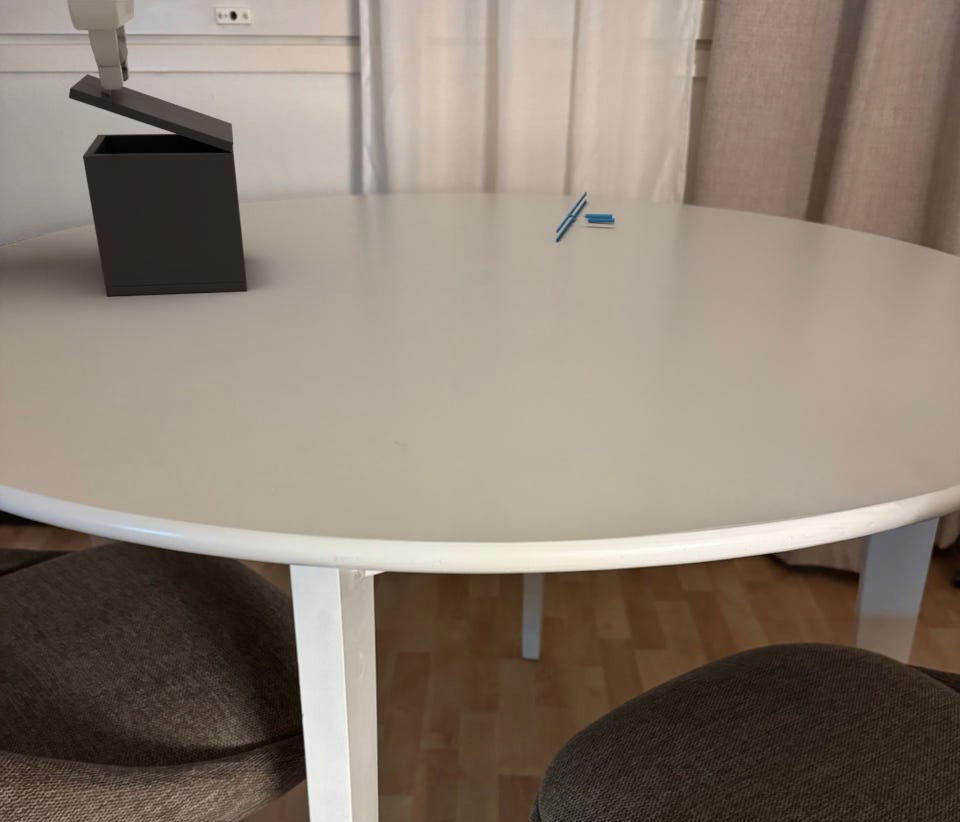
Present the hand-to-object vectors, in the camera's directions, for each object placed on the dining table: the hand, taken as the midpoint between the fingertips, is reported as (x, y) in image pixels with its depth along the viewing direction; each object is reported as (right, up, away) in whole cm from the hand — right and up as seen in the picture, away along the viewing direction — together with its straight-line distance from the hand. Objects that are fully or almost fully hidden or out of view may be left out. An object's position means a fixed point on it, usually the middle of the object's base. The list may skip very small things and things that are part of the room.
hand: (116, 85), depth 94 cm
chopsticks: (+46, +1, +35) cm, 58 cm away
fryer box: (+3, -14, +9) cm, 17 cm away
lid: (+3, -2, +2) cm, 4 cm away
